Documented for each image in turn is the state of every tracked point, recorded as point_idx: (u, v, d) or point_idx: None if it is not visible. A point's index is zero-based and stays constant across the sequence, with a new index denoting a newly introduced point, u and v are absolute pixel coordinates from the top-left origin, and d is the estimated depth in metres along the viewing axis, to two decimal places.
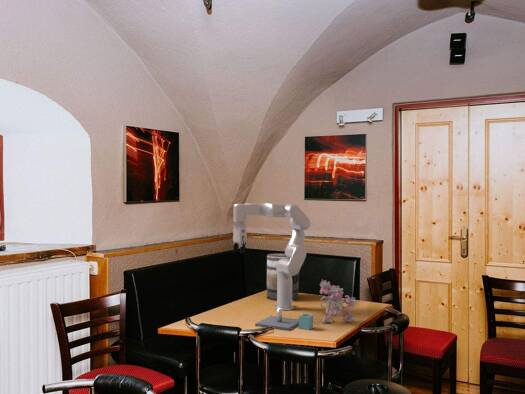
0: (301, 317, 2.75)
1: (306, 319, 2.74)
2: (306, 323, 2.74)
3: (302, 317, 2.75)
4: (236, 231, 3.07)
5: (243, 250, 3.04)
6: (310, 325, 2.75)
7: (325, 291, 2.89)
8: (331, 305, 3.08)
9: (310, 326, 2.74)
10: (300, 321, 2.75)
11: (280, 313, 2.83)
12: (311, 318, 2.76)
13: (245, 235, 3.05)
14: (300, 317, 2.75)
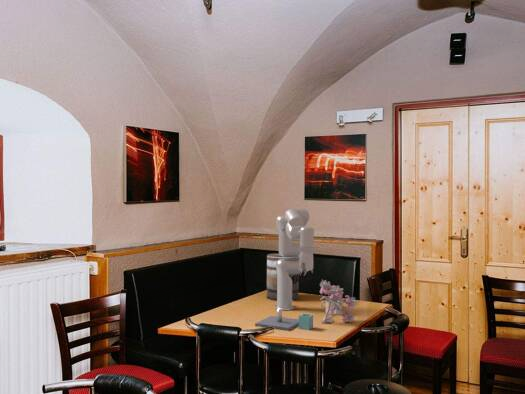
0: (301, 317, 2.75)
1: (306, 319, 2.74)
2: (306, 323, 2.74)
3: (302, 317, 2.75)
4: (311, 258, 2.77)
5: None
6: (310, 325, 2.75)
7: (325, 291, 2.89)
8: (331, 305, 3.08)
9: (310, 326, 2.74)
10: (300, 321, 2.75)
11: (280, 313, 2.83)
12: (311, 318, 2.76)
13: None
14: (300, 317, 2.75)
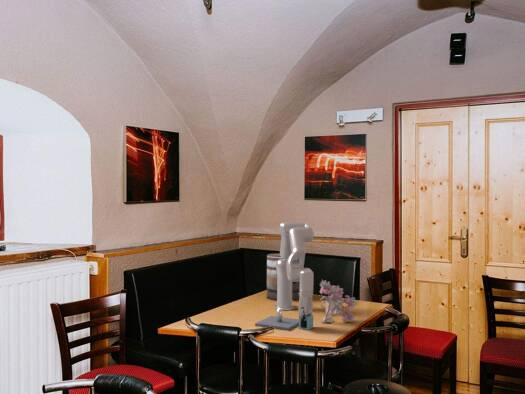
0: None
1: (306, 319, 2.74)
2: None
3: None
4: (311, 301, 2.77)
5: None
6: (310, 325, 2.75)
7: (325, 291, 2.89)
8: (331, 305, 3.08)
9: (310, 326, 2.74)
10: (300, 321, 2.75)
11: (280, 313, 2.83)
12: (311, 318, 2.76)
13: None
14: None
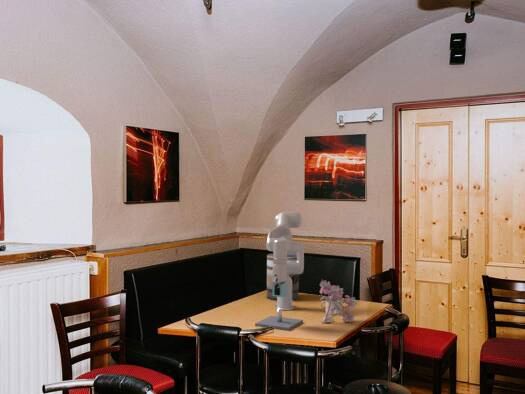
0: None
1: (279, 287, 2.81)
2: None
3: None
4: (284, 269, 2.84)
5: None
6: (283, 293, 2.82)
7: (325, 291, 2.89)
8: (331, 305, 3.08)
9: (283, 293, 2.81)
10: None
11: (280, 313, 2.83)
12: (284, 286, 2.83)
13: None
14: None
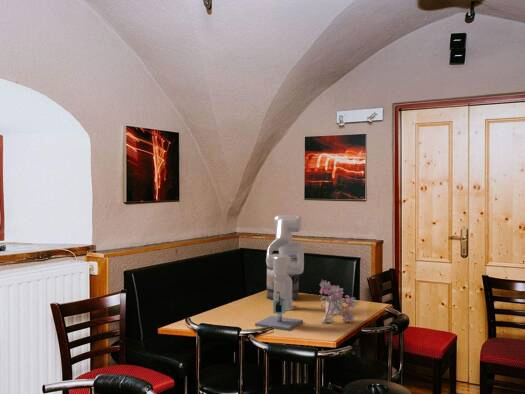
0: None
1: None
2: (281, 307, 2.81)
3: None
4: (284, 286, 2.85)
5: None
6: (284, 309, 2.83)
7: (325, 291, 2.89)
8: (331, 305, 3.08)
9: (284, 310, 2.82)
10: (275, 306, 2.82)
11: None
12: (284, 302, 2.84)
13: None
14: (275, 302, 2.82)
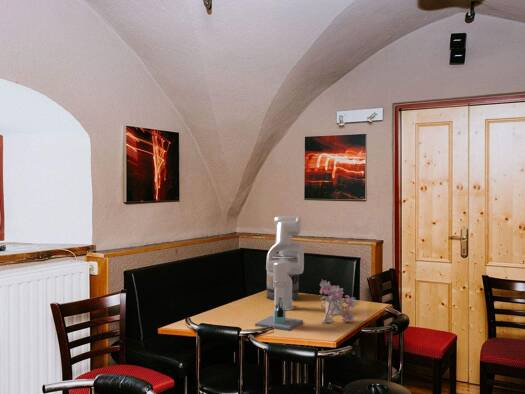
0: None
1: None
2: None
3: None
4: None
5: None
6: None
7: (325, 291, 2.89)
8: (331, 305, 3.08)
9: None
10: (276, 315, 2.81)
11: None
12: None
13: None
14: (276, 311, 2.81)
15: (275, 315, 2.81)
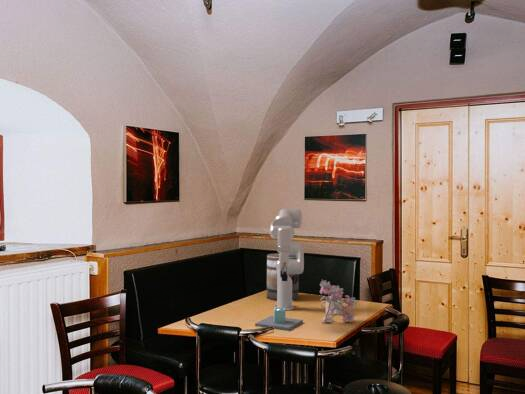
0: (277, 311, 2.81)
1: (282, 313, 2.81)
2: (282, 316, 2.82)
3: (278, 311, 2.81)
4: None
5: None
6: None
7: (325, 291, 2.89)
8: (331, 305, 3.08)
9: None
10: (276, 315, 2.81)
11: None
12: None
13: None
14: (276, 311, 2.81)
15: (275, 315, 2.81)
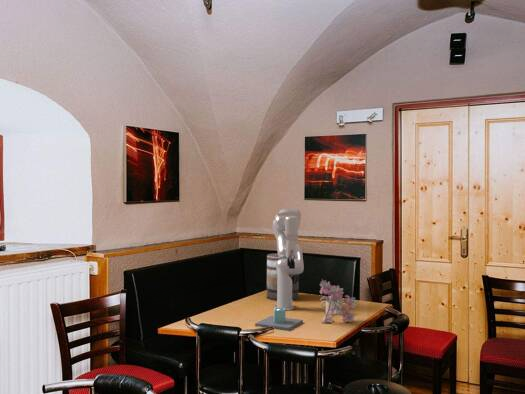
0: (277, 311, 2.81)
1: (282, 313, 2.81)
2: (282, 316, 2.82)
3: (278, 311, 2.81)
4: None
5: None
6: None
7: (325, 291, 2.89)
8: (331, 305, 3.08)
9: None
10: (276, 315, 2.81)
11: None
12: None
13: None
14: (276, 311, 2.81)
15: (275, 315, 2.81)
